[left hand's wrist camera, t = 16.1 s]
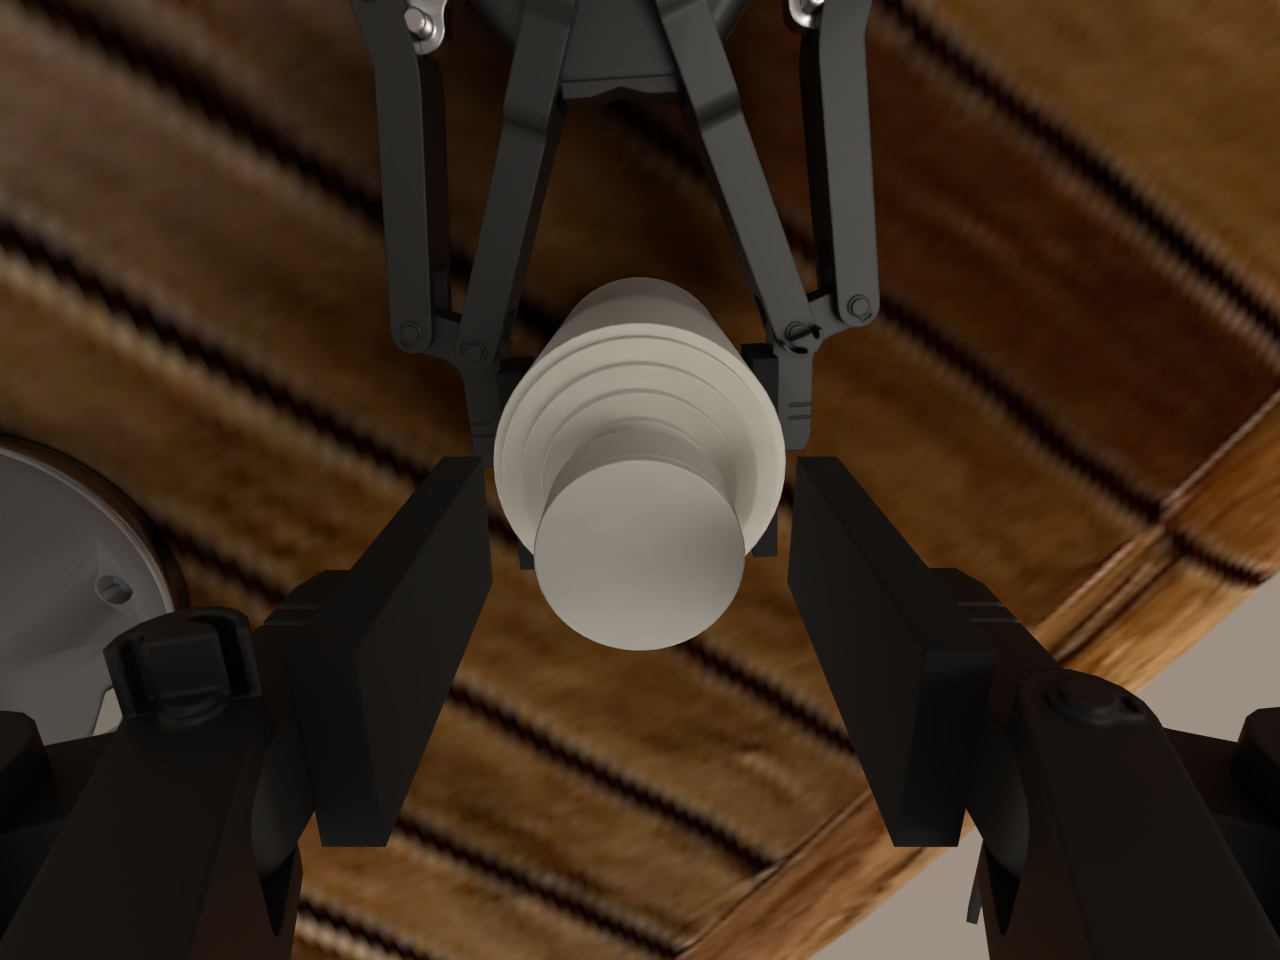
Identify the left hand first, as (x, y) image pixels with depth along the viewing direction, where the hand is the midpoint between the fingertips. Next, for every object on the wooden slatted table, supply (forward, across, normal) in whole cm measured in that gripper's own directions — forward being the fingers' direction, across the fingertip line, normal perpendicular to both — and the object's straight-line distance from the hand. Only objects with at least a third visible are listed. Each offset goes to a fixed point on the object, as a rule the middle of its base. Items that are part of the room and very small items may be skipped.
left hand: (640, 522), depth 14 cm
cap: (-1, 0, 0) cm, 1 cm away
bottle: (+16, 0, 0) cm, 16 cm away
